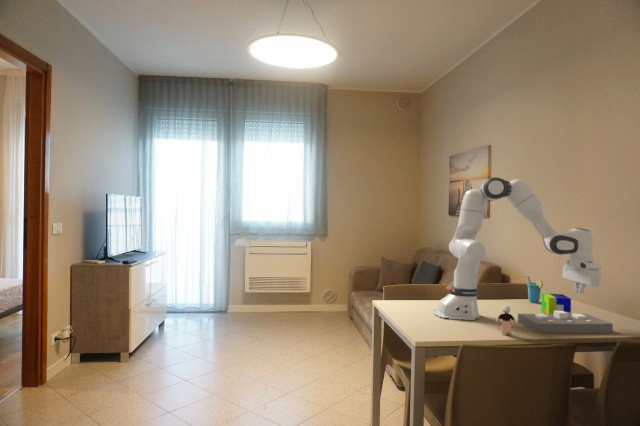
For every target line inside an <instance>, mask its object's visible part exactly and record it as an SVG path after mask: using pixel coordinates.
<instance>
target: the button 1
mask: <svg viewBox="0 0 640 426" xmlns="http://www.w3.org/2000/svg"><path fill="white" fill-rule="evenodd" d="M534 314H535V317H537V318H540V319H549V316H547V315H545V314H544V313H534Z"/></svg>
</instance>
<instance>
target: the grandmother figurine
mask: <svg viewBox="0 0 640 426" xmlns="http://www.w3.org/2000/svg"><path fill="white" fill-rule="evenodd" d="M501 310H502V311H503V313H501V314H499V315H498V317H497V319H496V321H495V322H497V323H499V322H500V320H501V333H500V334H501V335H502V334H503V335H502V336H509V335H512V336H513V333H512V322H513V324H514V325H515V324H517V322H516V319H515V317H514V316H513V315H512V314H511V313H510V312H511V307H510V306H509V305H507V304H505V305H503V306H502V307H501ZM511 321H512V322H511ZM507 334H508V335H507Z"/></svg>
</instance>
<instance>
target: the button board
mask: <svg viewBox="0 0 640 426" xmlns="http://www.w3.org/2000/svg"><path fill="white" fill-rule="evenodd" d="M535 314H536V313H517V323H519V324H521V325H522V326H525V327H527V329H528V328H529V329H530V330H532V331H533V332H536V333H538V334H571V333H572V334H585V333H586V334H601V333H602V334H611V333H613V327H614V326H613V323H611V322H609V321H606V320H604V319H601V318H598V317H596V316H593V315H592V314H591V315H590V314H587V313H581V314H582V315H584V316H586V319H577V318H575V317H572V314H573V313H571V314H568V319H558V318H556V317H554V314H545V315H547V316H549V319H540V318H537V317H535Z"/></svg>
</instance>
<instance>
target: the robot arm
mask: <svg viewBox="0 0 640 426" xmlns="http://www.w3.org/2000/svg"><path fill="white" fill-rule="evenodd" d="M502 198H504V199H507V200H508V201H509V202H510V203H511V204H512V206H513V207H514V208H515V209H516V211H517V212H518V213H519V214H520V215H522V216H523V217H524V218H525V219H526V220H527V221H528V222H530V223H531V224H532V225H533V227H534V228H535V229H536V231H537V232H538V233H539V235H540V236H541V237H542V241H543V245H544V248H545V249H546V250H547V251H548V252H550V253H552V254H556V255H561V256H562V255H569V259H568V260H566V261H564V265H563V267H562V274H561V275H562V278H563V280H568V281H570V282H573V284H574V285H573V286H574V288H575V292H576V293H580V294H583V293H584V292H585V291H584V290H585V288H586V286H590V287H599V286H600V284H601V271H600V270H601V269H602V265H601V264H600V263H598V262H597V261H595V260H594V259H593V253H592V252H593V249H594V237H593V236H594V235H593V233H592V231H590V230H589V229H585V228H580V227H573V228H571V229H570V230H567V231H564V232H562V233H561V232H557V231H556V230H555V229H554V228H553V226H552V225H551V223H550V222H549V221H548V220H547V219H546V217H545V215H544V212H543V207H544V206H543V204H542V201H541V200H540V198H539V197H538V195H537V194H536V193H535V192H534V190H532V188H531V187H530V186H529V185H528V184H527V183H525V181H523V180H522V179H519V178H515V179H512V180H510V181H509V180H505V179H503V178H500V177H496V176H493V177H490V178H488V179H486V180H485V181H484V182H483V183H482V184H481V186H480V187H479V188H478V189H476V188H475V189H473V188H472V189H468V190H467V191H465V193H464V195H463V198H462V201H461V206H460V211H459V217H458V221H457V222H458V224H457V225H456V226H457V227H456V229H455V232H454V235H453V238H452V239H451V240H450V241H449V244H448V249H449V252H450V254H452V255H453V256H454V257H455V258H457V259H458V260H457V264H456V268H455V269H454V270H453V285H452V287H451V286H446V290H447V291H449V293H448V294H447V295H445V297H443V298H441V299H440V300H439V301H438V304H437V308H436V309H434V308H433V310H432V314H433V315H435V316H436V315H437V316H436V317H438V318H440V317H441V318H440V319H444V318H449V320H462V319H463V320H466V321H475V320H476V319H478V318H480V317H481V315H480V312H479V308H478V295H479V294H478V293H479V292H478V290H479V289H478V273H479V272H478V271H479V268H480V264H481V261H482V260H483V258H484V257H485V255H486V248H485V246H484V245H483V243H481V242H480V241H478V240H477V239H476V237H477V236H478V234H479V232H480V230H481V229H482V226H483V218H484V212H485V206H486V204H487V203H488V202H493V201H498V200H500V199H502Z"/></svg>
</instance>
